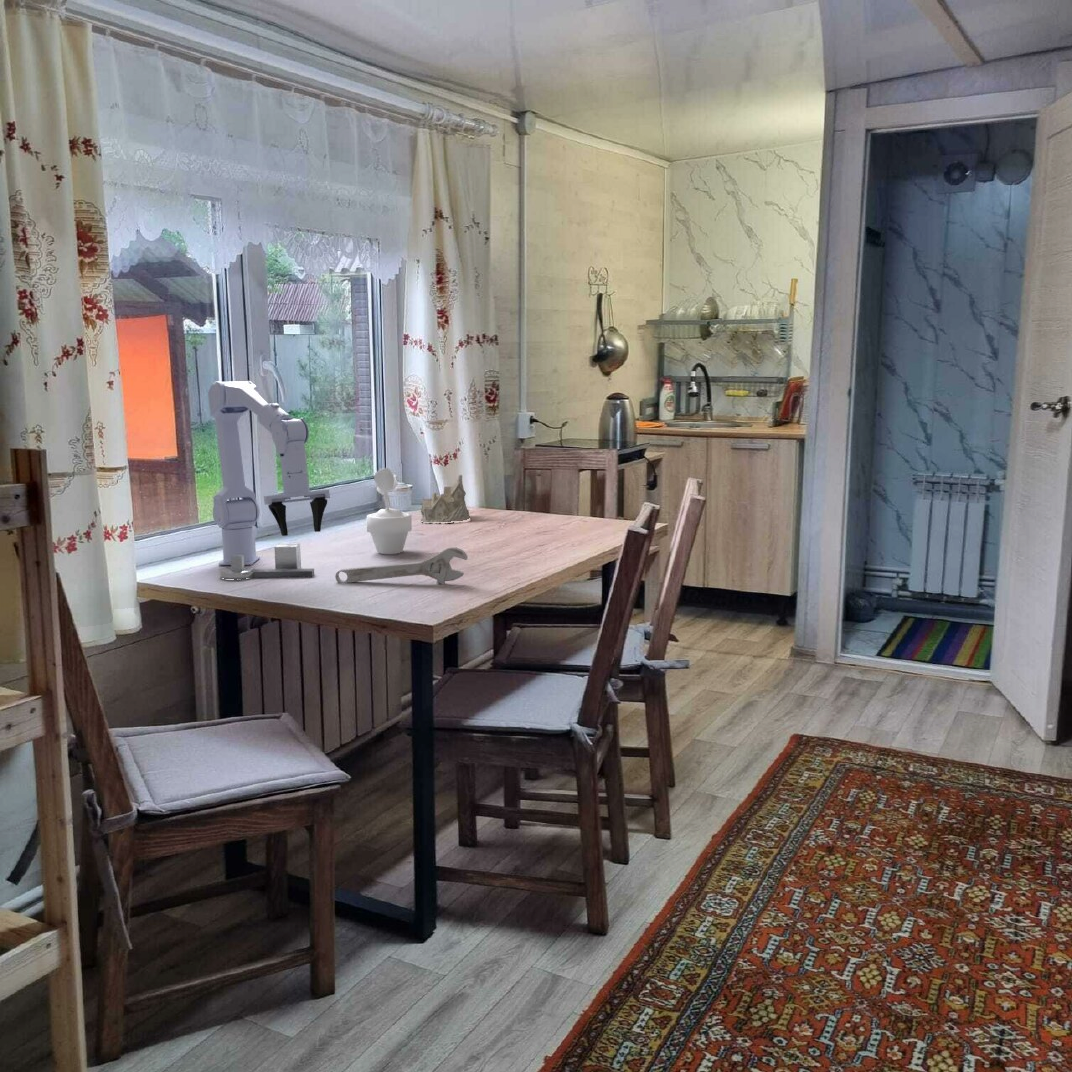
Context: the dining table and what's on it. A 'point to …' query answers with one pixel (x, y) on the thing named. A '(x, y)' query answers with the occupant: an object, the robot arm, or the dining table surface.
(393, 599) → the dining table surface
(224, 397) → the robot arm
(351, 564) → the dining table surface
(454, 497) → the ceramic cottage
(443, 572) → the wrench
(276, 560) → the brushed metal cube
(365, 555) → the dining table surface
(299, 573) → the ratchet
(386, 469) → the potted plant
